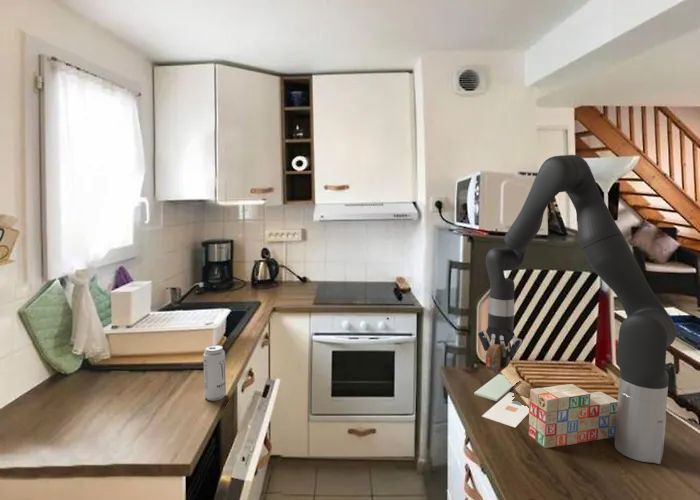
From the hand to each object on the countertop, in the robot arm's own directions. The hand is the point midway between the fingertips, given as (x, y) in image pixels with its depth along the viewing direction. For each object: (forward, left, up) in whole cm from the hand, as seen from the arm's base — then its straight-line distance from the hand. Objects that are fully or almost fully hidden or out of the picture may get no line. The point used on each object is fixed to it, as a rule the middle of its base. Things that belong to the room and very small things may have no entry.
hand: (498, 366), depth 135 cm
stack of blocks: (-25, +15, -7) cm, 30 cm away
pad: (0, 0, -7) cm, 7 cm away
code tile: (-9, +11, -7) cm, 16 cm away
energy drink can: (+60, +62, -7) cm, 87 cm away
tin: (0, 0, -1) cm, 1 cm away
